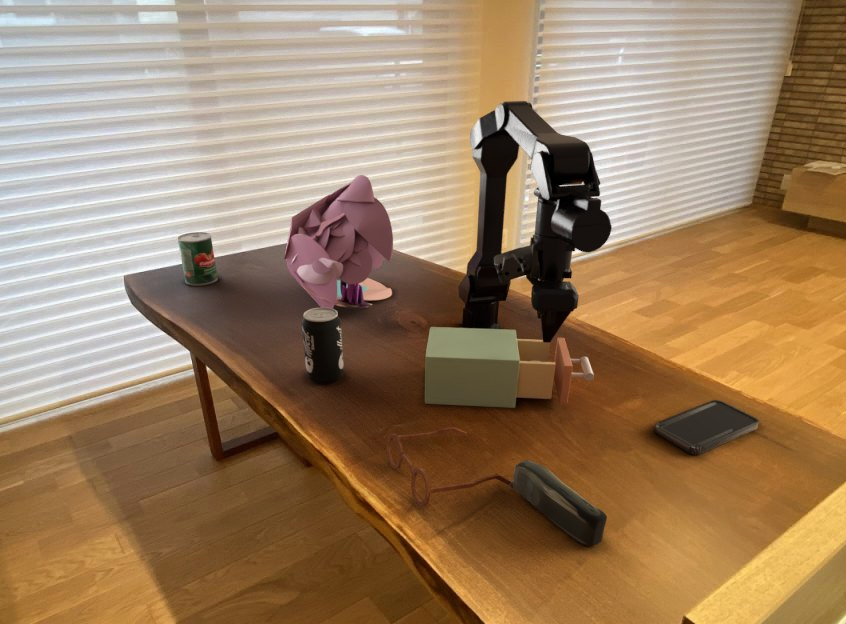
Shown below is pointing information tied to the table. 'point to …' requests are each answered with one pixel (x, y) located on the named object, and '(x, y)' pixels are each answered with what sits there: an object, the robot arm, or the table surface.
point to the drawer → (547, 370)
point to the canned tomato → (197, 258)
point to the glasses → (419, 470)
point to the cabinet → (471, 367)
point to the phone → (706, 426)
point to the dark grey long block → (559, 503)
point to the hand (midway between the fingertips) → (543, 329)
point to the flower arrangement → (341, 246)
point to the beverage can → (323, 345)
